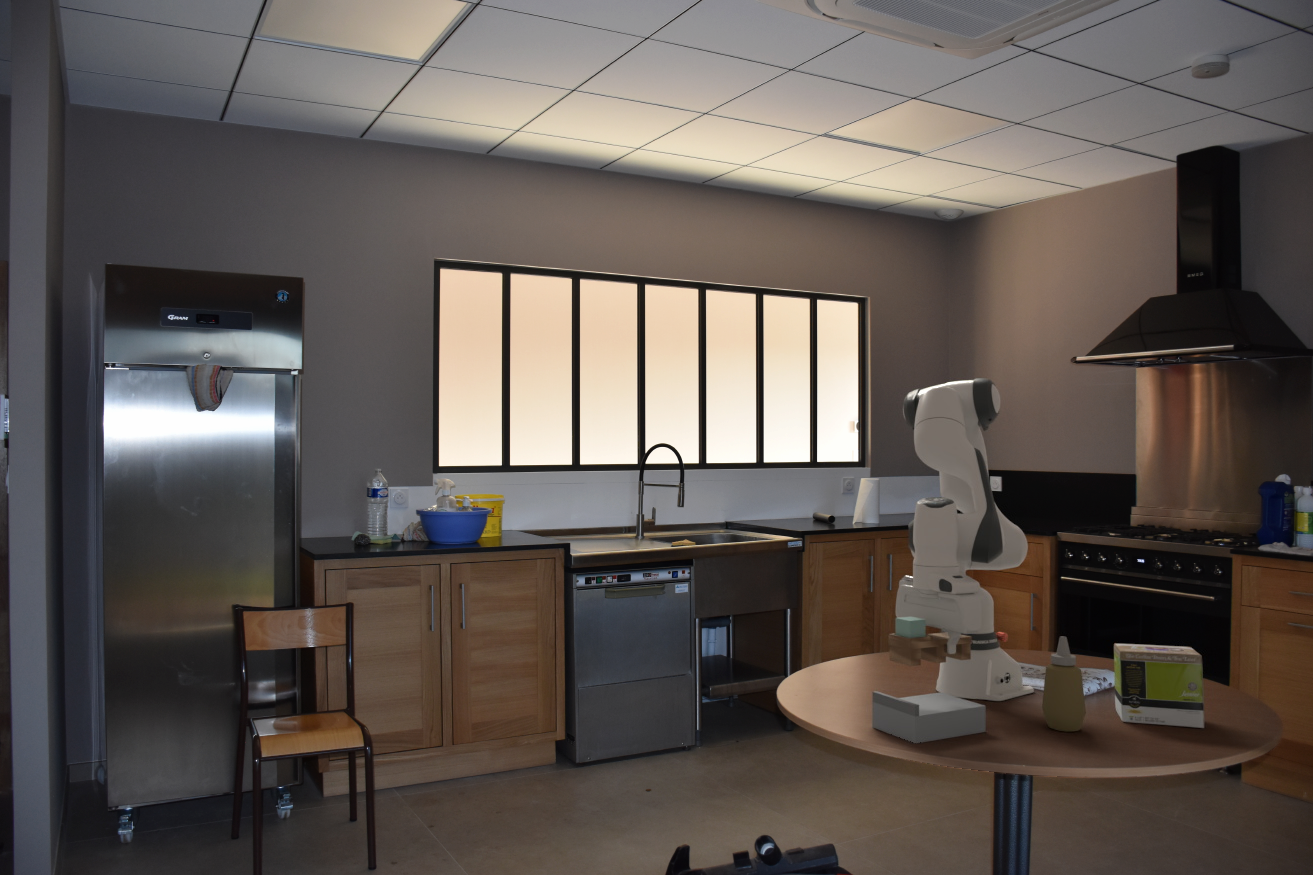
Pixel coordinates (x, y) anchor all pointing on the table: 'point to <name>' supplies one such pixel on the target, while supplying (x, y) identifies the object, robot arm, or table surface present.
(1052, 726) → the squeeze bottle
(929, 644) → the pallet
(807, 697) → the table surface
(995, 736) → the table surface
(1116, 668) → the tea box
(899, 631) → the mint green cube
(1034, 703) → the table surface
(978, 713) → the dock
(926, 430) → the robot arm
